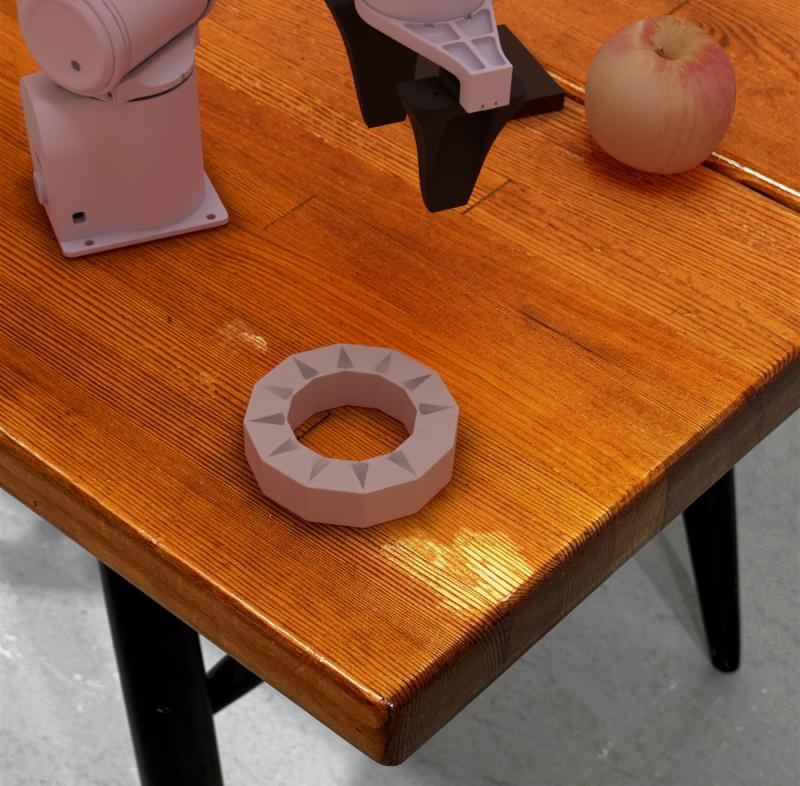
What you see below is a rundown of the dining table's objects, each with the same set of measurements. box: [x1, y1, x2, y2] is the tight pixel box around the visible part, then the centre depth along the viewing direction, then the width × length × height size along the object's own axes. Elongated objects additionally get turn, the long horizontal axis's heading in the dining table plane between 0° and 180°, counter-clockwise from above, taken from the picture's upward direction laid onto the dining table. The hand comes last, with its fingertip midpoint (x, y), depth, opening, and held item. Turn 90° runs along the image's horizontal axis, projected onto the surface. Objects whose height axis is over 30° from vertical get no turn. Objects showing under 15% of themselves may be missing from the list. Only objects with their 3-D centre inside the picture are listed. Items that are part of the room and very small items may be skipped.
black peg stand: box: [414, 2, 566, 121], centre depth 92 cm, size 9×9×6 cm
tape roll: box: [242, 342, 460, 529], centre depth 70 cm, size 10×10×2 cm
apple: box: [583, 14, 737, 175], centre depth 86 cm, size 9×9×8 cm
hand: (414, 162), depth 72 cm, fingers open, 7 cm apart
